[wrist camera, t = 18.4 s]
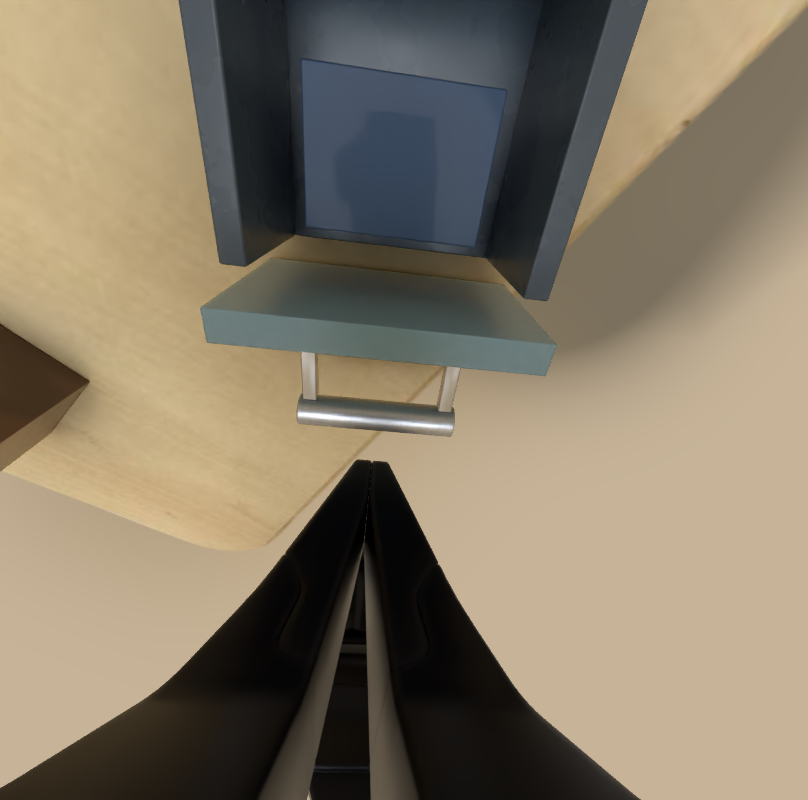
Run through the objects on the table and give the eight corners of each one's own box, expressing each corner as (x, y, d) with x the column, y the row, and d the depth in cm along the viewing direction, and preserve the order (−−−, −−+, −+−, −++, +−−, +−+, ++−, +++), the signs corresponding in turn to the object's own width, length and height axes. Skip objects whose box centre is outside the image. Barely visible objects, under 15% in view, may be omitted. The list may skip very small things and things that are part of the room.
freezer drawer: (476, 388, 21) (508, 478, 15) (280, 370, 20) (228, 456, 14) (606, -109, 11) (849, -436, 5) (235, -182, 11) (7, -667, 4)
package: (457, 228, 16) (475, 248, 12) (329, 212, 15) (305, 227, 11) (478, 111, 13) (508, 89, 10) (329, 89, 13) (300, 56, 9)
